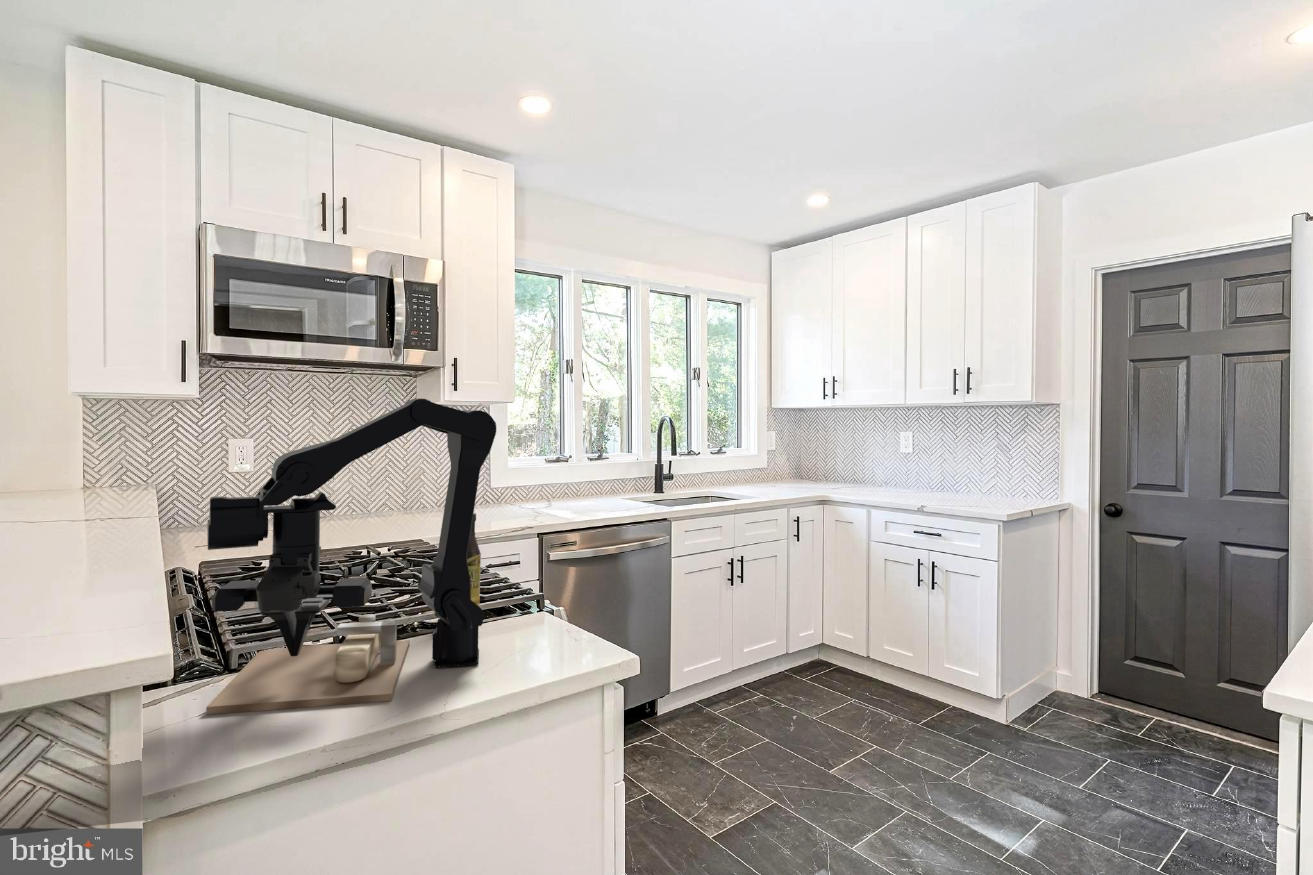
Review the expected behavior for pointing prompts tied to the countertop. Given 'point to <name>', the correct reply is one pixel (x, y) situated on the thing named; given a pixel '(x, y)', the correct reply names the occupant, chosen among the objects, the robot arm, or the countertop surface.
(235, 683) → the base
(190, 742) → the countertop surface
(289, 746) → the countertop surface
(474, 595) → the sauce bottle
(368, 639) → the oak link
